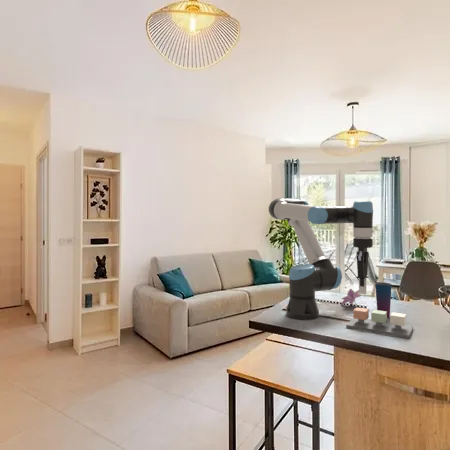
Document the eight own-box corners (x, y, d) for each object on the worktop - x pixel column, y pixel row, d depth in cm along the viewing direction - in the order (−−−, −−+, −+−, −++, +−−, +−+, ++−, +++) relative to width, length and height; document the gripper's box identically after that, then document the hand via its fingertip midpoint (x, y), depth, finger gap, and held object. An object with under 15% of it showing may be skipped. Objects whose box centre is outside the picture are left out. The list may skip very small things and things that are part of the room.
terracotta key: (353, 318, 138) (353, 310, 138) (356, 315, 142) (356, 307, 142) (366, 320, 135) (366, 311, 135) (368, 317, 139) (368, 309, 139)
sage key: (371, 321, 134) (371, 312, 134) (373, 318, 138) (373, 309, 138) (384, 323, 131) (384, 314, 131) (386, 319, 135) (386, 311, 135)
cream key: (390, 324, 130) (390, 315, 130) (392, 320, 134) (392, 312, 134) (404, 326, 127) (404, 317, 127) (406, 322, 131) (406, 314, 131)
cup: (393, 318, 147) (393, 285, 147) (377, 318, 149) (377, 285, 148) (389, 314, 154) (389, 282, 154) (373, 313, 155) (373, 282, 155)
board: (346, 327, 136) (346, 319, 136) (354, 319, 147) (353, 312, 147) (409, 338, 123) (409, 329, 123) (413, 328, 133) (412, 320, 133)
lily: (365, 307, 171) (357, 289, 175) (370, 303, 160) (362, 285, 164) (343, 314, 172) (335, 296, 176) (347, 311, 161) (338, 292, 165)
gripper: (369, 239, 130) (369, 298, 131) (375, 237, 141) (375, 291, 142) (349, 238, 134) (349, 295, 135) (357, 236, 145) (356, 289, 146)
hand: (362, 293), depth 139 cm, fingers closed
